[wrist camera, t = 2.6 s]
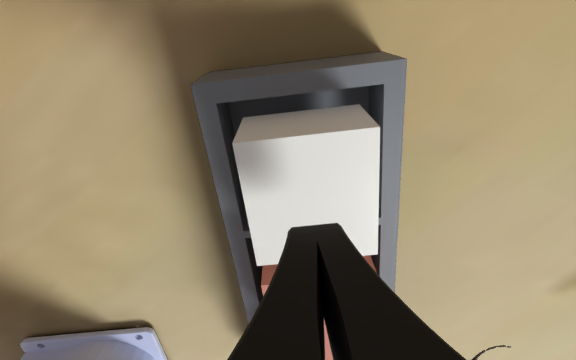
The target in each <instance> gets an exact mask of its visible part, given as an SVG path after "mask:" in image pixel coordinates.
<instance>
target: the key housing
mask: <svg viewBox="0 0 576 360" xmlns="http://www.w3.org/2000/svg"><path fill="white" fill-rule="evenodd" d="M406 67H407V59H406V58H403V57H399V56H396V55H393V54H389V53H386V52H383V51H381V52H373V53H365V54H356V55H348V56H340V57H332V58H323V59H315V60H307V61H298V62H290V63H282V64H274V65H265V66H257V67H249V68H240V69H232V70H224V71H216V72H208V73H207V74H205V75H204V76H202V77H201V78H199V79H198V80H197V81H195V82H194V83H192V84H191V89H192V94H193V98H194V102H195V106H196V110H197V114H198V118H199V122H200V126H201V130H202V135H203V139H204V143H205V147H206V151H207V155H208V159H209V163H210V167H211V171H212V175H213V180H214V184H215V188H216V192H217V196H218V200H219V204H220V208H221V212H222V216H223V221H224V225H225V229H226V233H227V237H228V241H229V245H230V249H231V253H232V257H233V262H234V266H235V270H236V274H237V278H238V282H239V286H240V290H241V294H242V298H243V302H244V307H245V311H246V315H247V319H248V323H250V321H251V319H252V317H253V316H254V314H255V312H256V310H257V308H258V306H259V304H260V302H261V300H262V298H263V293H262V288H261V280H262V268H263V266H257V263H256V258H255V253H254V248H253V243H252V238H251V234H250V229H249V224H248V219H247V214H246V209H245V204H244V199H243V194H242V189H241V184H240V179H239V174H238V169H237V164H236V160H235V155H234V150H233V145H232V143H233V140H234V138H235V136H236V133H237V131H238V128H239V126H240V124H241V121H242V119H243V117H251V116H260V115H268V114H277V113H286V112H294V111H303V110H312V109H321V108H329V107H338V106H347V105H355V104H360V105H361V107H362V108H363V109H364V110H365V111H366V112H367V113H368V114H369V115H370V116H371V117H372V118H373V120H374V121H375V122H376V123H377V124H378V125H379V126H380V165H379V217H378V254H377V255H370V256H371V259H372V261H373V264H374V267H375V269H376V272H377V274H378V275H379V276H380V277H381V279H382V280H383V281H384V282H385V283H386V284H387V285H388V286H389V287H390V289H391V290H392V291H393V292H394V293H395V274H396V255H397V236H398V218H399V199H400V180H401V161H402V142H403V123H404V104H405V86H406Z"/></svg>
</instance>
